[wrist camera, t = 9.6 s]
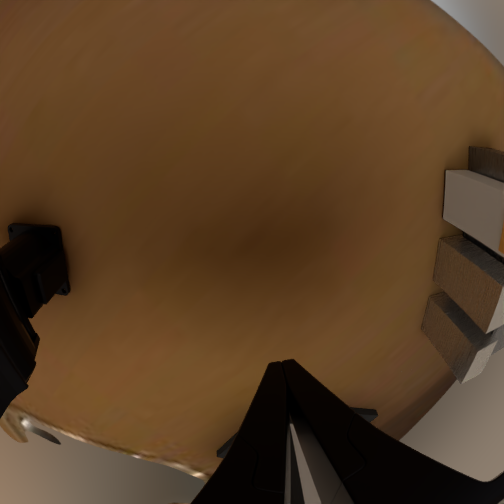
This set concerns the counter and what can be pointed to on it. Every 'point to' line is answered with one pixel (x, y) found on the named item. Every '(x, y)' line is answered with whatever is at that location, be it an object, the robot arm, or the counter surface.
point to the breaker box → (468, 291)
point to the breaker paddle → (476, 206)
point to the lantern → (301, 464)
